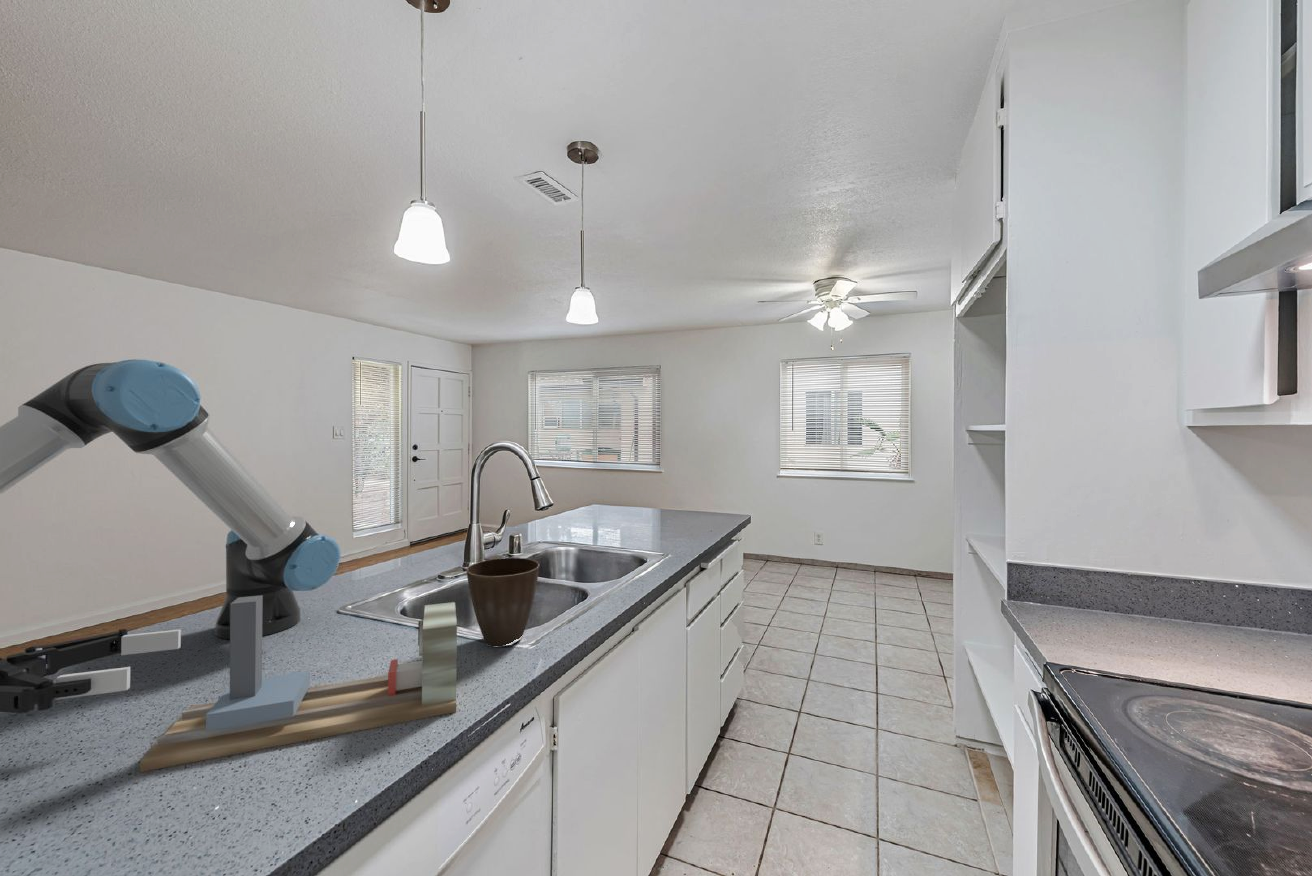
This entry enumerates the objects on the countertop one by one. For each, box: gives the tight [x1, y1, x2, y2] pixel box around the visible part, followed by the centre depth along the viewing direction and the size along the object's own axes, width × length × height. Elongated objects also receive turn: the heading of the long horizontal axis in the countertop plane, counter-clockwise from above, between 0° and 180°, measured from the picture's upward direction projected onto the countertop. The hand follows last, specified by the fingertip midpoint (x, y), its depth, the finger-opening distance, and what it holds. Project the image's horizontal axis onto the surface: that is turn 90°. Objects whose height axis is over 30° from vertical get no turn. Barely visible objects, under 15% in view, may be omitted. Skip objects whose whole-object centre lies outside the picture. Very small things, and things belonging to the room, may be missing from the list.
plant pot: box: [466, 557, 540, 647], centre depth 108 cm, size 15×15×16 cm
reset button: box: [387, 658, 422, 696], centre depth 84 cm, size 5×7×4 cm
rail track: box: [139, 601, 458, 773], centre depth 79 cm, size 14×38×14 cm, turn 113°
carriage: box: [206, 595, 311, 732], centre depth 76 cm, size 10×10×16 cm
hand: (156, 656), depth 71 cm, fingers open, 13 cm apart
